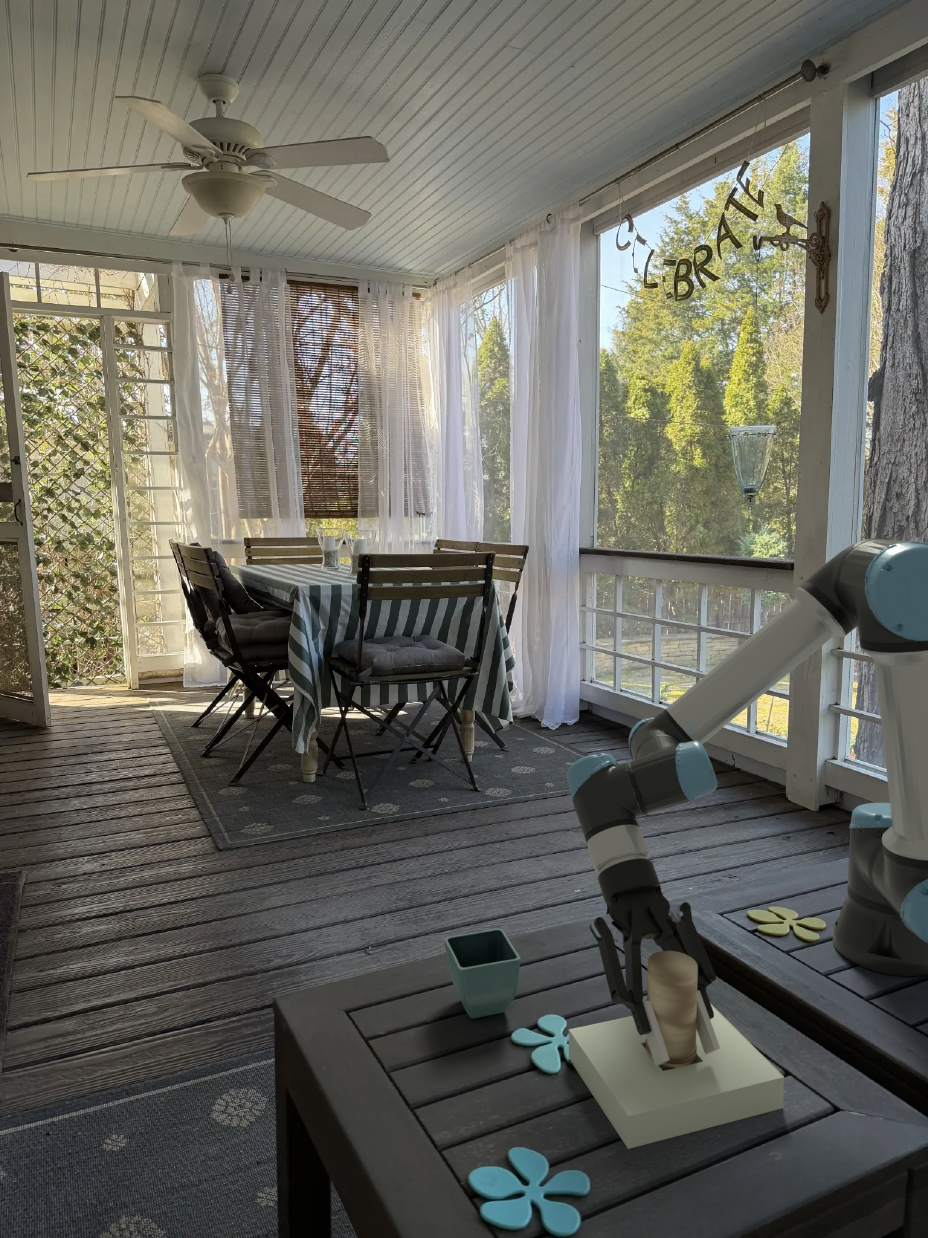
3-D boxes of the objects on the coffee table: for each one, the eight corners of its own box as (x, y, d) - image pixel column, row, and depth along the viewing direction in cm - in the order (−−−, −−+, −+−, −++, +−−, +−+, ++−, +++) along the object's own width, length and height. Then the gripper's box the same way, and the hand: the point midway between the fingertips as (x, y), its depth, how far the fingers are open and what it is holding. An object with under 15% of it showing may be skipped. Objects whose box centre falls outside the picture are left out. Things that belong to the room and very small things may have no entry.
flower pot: (460, 1031, 115) (459, 969, 114) (444, 995, 123) (443, 936, 122) (522, 1019, 117) (521, 958, 116) (502, 984, 126) (501, 927, 124)
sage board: (706, 1027, 115) (706, 1000, 114) (782, 1108, 100) (784, 1077, 99) (568, 1058, 109) (568, 1029, 108) (628, 1149, 94) (628, 1116, 93)
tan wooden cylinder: (679, 1057, 108) (681, 947, 106) (705, 1088, 102) (708, 972, 100) (636, 1067, 106) (637, 955, 104) (661, 1100, 101) (663, 982, 98)
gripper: (676, 867, 119) (743, 1047, 106) (549, 888, 113) (603, 1080, 100) (698, 846, 113) (772, 1034, 100) (565, 866, 107) (625, 1068, 94)
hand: (687, 1056), depth 100 cm, fingers open, 6 cm apart
